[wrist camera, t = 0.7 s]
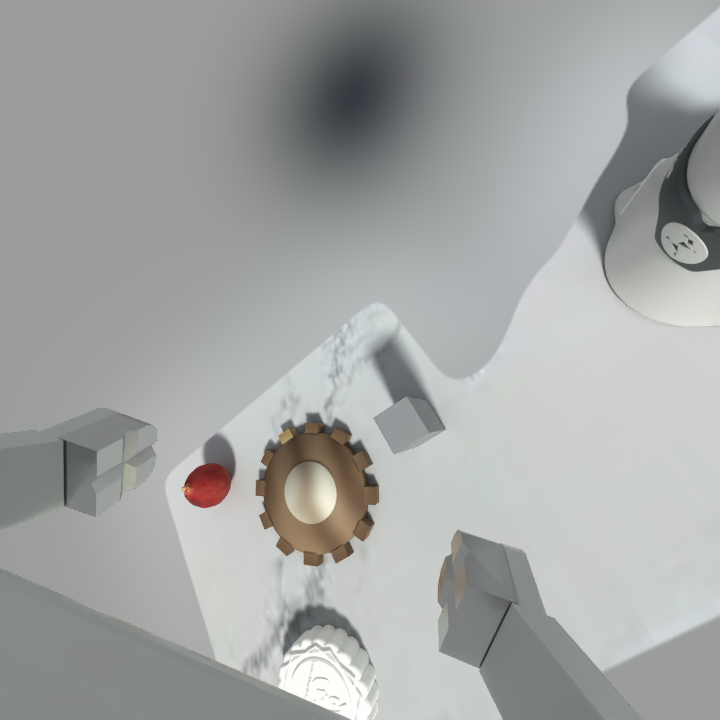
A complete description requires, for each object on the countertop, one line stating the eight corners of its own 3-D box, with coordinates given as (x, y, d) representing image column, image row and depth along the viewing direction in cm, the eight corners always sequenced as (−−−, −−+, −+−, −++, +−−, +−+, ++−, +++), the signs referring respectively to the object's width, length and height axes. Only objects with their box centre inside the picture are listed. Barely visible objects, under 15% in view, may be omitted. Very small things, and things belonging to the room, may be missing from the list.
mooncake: (368, 762, 39) (355, 794, 36) (282, 703, 44) (264, 726, 41) (389, 652, 40) (379, 673, 37) (303, 605, 45) (287, 620, 42)
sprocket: (337, 398, 47) (331, 397, 45) (405, 523, 41) (400, 528, 39) (245, 462, 51) (236, 463, 50) (294, 584, 45) (286, 590, 44)
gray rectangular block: (427, 400, 42) (406, 396, 33) (445, 429, 41) (429, 432, 32) (400, 417, 43) (373, 417, 34) (417, 446, 42) (393, 454, 33)
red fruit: (239, 505, 51) (195, 519, 43) (210, 496, 53) (163, 509, 46) (245, 464, 51) (202, 472, 44) (216, 457, 54) (170, 464, 46)
